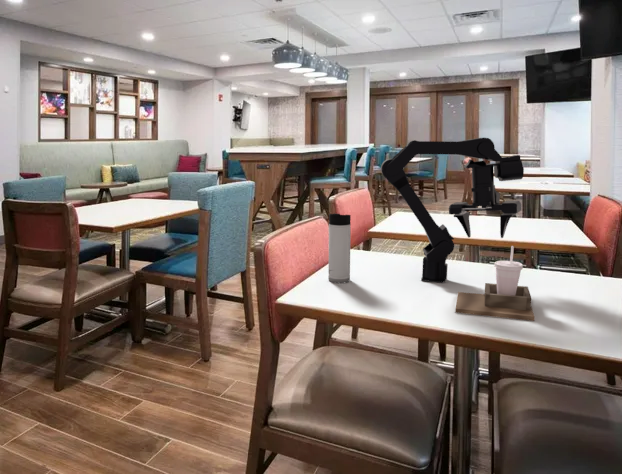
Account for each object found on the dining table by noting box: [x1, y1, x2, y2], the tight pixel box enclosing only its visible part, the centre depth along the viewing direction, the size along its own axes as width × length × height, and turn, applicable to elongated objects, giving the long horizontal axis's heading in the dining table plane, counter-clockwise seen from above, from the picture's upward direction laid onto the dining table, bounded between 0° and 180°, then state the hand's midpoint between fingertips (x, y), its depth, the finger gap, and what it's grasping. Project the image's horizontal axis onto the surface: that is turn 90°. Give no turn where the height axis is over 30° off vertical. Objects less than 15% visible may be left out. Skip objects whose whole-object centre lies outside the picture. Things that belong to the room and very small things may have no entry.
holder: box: [454, 282, 536, 322], centre depth 117 cm, size 17×14×4 cm
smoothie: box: [493, 245, 524, 296], centre depth 117 cm, size 6×6×14 cm
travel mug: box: [328, 212, 352, 284], centre depth 140 cm, size 6×7×20 cm
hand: (485, 237), depth 139 cm, fingers open, 9 cm apart
